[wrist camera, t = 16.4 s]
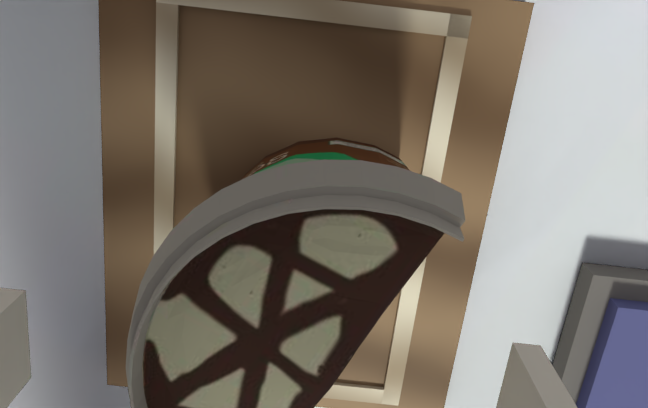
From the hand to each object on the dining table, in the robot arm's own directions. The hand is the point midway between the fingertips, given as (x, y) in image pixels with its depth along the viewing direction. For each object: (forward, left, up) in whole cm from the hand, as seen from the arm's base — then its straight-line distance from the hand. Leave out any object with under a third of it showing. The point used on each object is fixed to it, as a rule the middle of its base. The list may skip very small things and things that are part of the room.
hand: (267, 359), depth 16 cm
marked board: (0, 0, -10) cm, 10 cm away
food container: (+1, +1, -10) cm, 10 cm away
